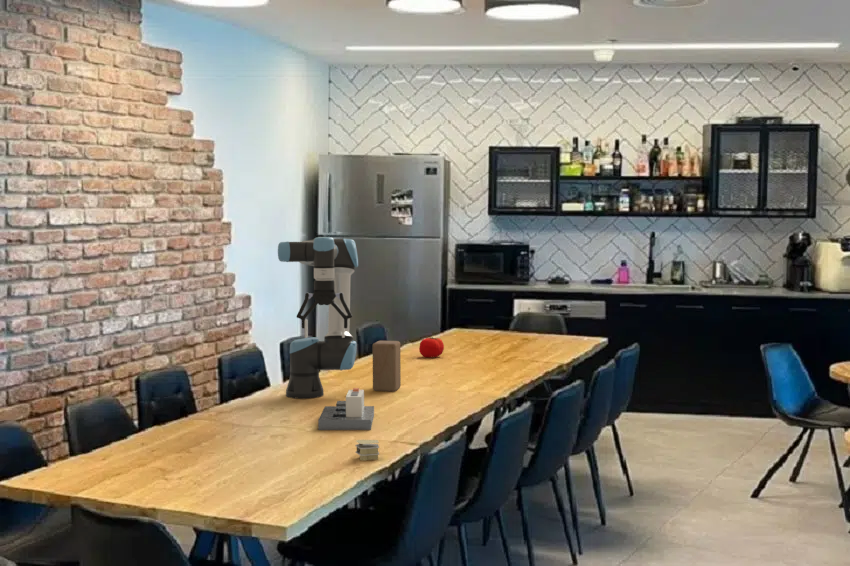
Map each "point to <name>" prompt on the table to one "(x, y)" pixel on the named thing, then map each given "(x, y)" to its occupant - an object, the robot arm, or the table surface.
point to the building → (367, 449)
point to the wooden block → (386, 366)
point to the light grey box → (355, 403)
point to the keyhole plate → (345, 419)
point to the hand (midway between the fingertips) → (324, 337)
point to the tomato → (431, 347)
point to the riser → (341, 403)
